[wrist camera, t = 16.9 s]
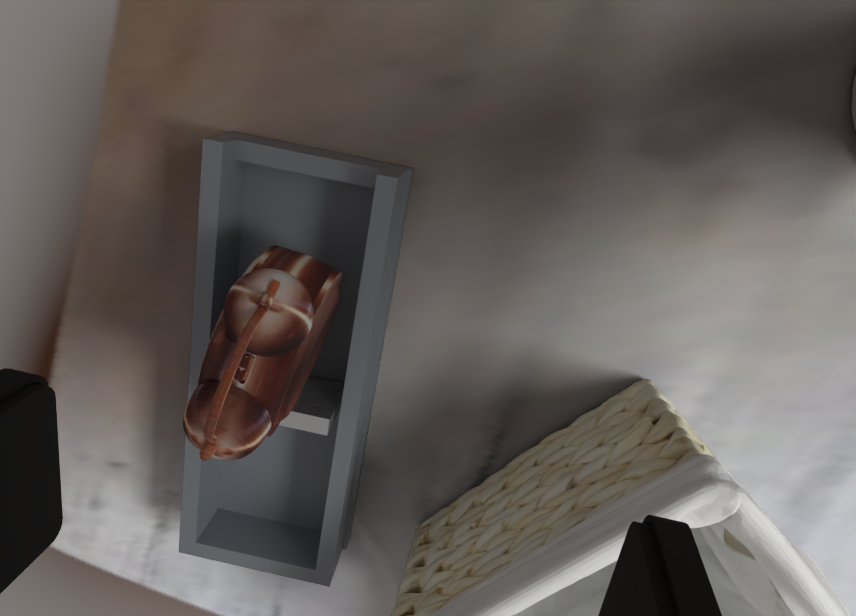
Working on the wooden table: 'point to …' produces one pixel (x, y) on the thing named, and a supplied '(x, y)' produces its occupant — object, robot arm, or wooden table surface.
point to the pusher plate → (316, 406)
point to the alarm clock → (261, 352)
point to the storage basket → (602, 524)
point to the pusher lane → (337, 361)
